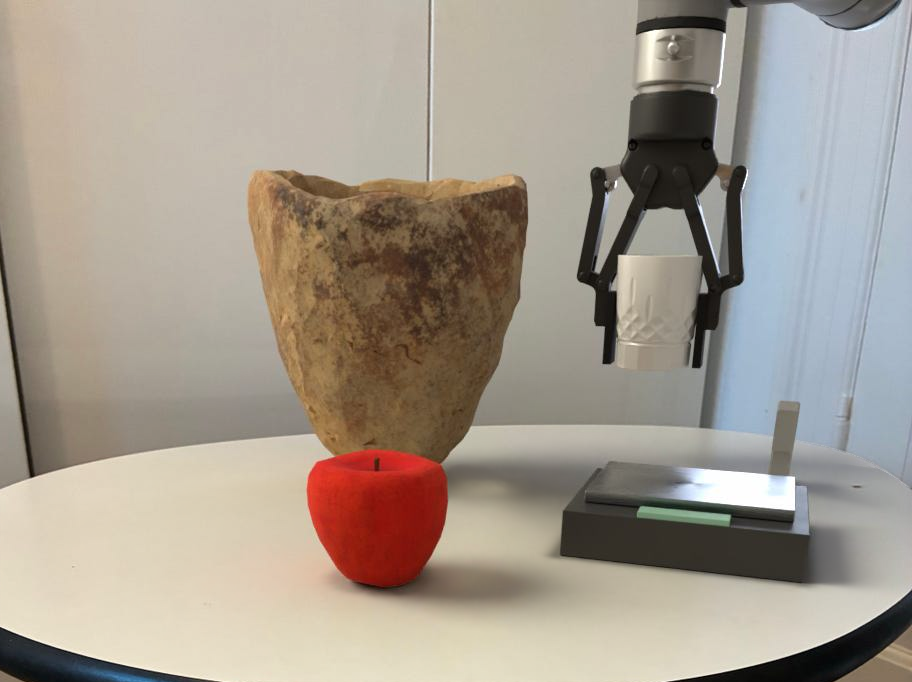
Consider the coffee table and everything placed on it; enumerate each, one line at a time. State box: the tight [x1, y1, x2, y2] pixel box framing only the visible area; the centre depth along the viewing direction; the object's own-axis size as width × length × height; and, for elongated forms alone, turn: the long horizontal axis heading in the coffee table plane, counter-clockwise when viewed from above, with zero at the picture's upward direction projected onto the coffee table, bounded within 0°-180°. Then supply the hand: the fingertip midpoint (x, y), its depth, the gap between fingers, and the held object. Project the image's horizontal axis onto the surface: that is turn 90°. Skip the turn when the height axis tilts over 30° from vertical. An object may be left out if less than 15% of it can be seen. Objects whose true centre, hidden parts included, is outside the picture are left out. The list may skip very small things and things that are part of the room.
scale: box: [559, 467, 811, 583], centre depth 74 cm, size 16×14×4 cm
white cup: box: [616, 253, 704, 372], centre depth 95 cm, size 8×8×10 cm
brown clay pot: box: [247, 169, 529, 465], centre depth 86 cm, size 22×22×25 cm
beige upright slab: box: [767, 400, 801, 477], centre depth 88 cm, size 7×2×8 cm, turn 161°
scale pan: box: [584, 460, 796, 522], centre depth 74 cm, size 14×10×1 cm
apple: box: [306, 449, 449, 588], centre depth 64 cm, size 9×9×8 cm
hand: (652, 364), depth 97 cm, fingers closed on white cup, 8 cm apart
